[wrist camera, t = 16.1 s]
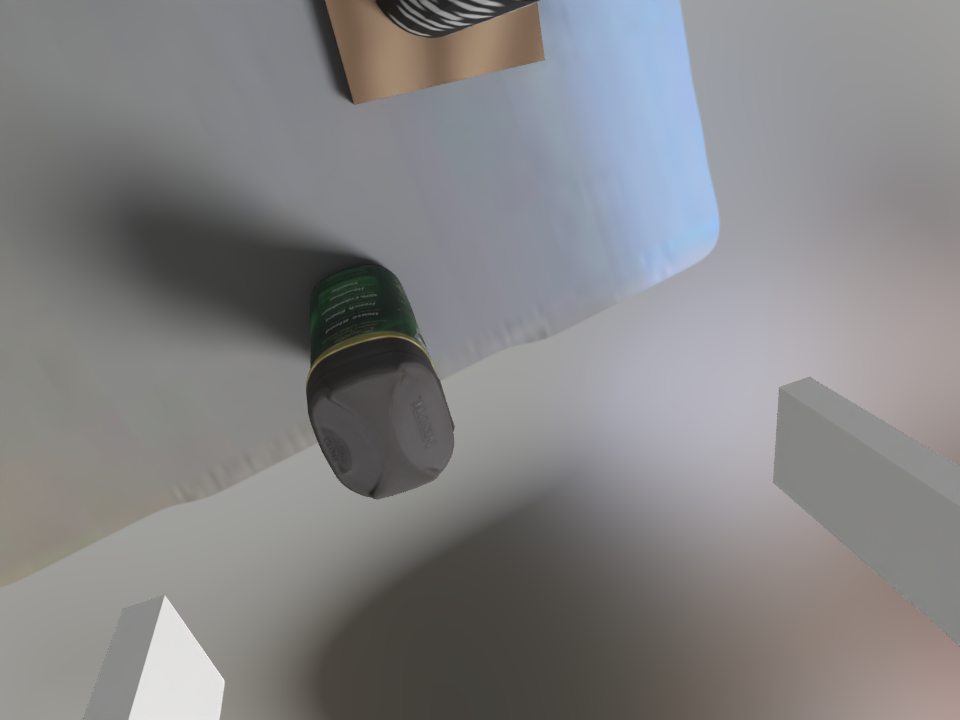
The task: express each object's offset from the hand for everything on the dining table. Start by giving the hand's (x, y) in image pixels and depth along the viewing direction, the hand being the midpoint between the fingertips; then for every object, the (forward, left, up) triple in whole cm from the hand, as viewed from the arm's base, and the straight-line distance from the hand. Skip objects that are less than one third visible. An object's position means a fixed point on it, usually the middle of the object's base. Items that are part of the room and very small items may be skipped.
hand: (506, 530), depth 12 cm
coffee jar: (-3, -9, -37) cm, 38 cm away
